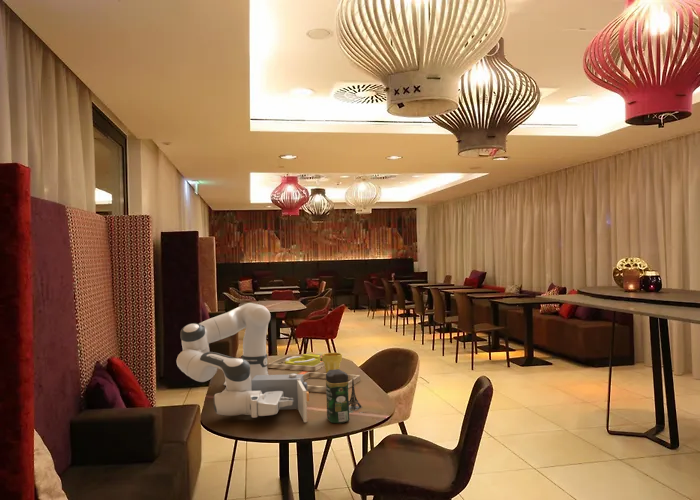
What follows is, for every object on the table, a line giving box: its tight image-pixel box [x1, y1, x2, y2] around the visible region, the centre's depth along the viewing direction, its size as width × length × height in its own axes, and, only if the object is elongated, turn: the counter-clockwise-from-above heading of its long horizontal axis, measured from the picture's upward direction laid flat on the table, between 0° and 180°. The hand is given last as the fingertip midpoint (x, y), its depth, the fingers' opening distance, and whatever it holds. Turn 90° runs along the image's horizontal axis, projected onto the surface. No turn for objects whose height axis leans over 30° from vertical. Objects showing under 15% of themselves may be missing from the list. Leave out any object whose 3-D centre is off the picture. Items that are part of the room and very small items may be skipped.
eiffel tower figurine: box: [349, 379, 364, 414], centre depth 215 cm, size 15×10×13 cm
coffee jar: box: [325, 369, 350, 424], centre depth 200 cm, size 10×8×19 cm
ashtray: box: [284, 353, 321, 366], centre depth 300 cm, size 16×21×5 cm
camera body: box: [252, 373, 308, 411], centre depth 220 cm, size 22×9×13 cm, turn 89°
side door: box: [297, 378, 310, 423], centre depth 206 cm, size 19×2×12 cm, turn 13°
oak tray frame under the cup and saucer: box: [303, 371, 361, 394], centre depth 254 cm, size 28×26×2 cm
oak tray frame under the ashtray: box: [267, 355, 325, 372], centre depth 301 cm, size 29×24×2 cm
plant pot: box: [321, 352, 343, 373], centre depth 279 cm, size 10×10×10 cm
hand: (292, 401), depth 202 cm, fingers closed
